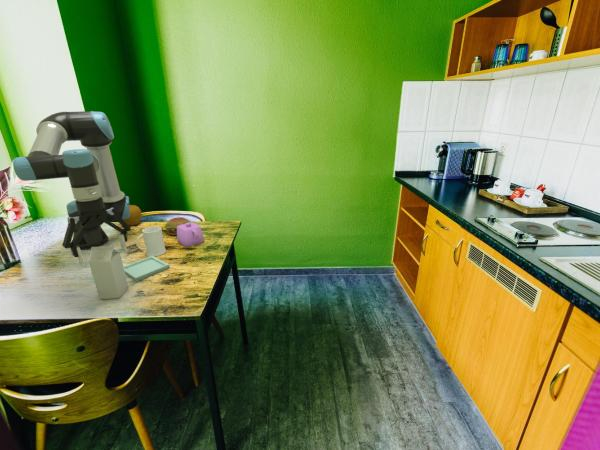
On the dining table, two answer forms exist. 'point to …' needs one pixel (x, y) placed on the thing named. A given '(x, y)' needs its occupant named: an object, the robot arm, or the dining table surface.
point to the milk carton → (108, 272)
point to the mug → (153, 241)
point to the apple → (133, 215)
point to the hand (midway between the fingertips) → (104, 257)
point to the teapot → (189, 234)
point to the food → (175, 225)
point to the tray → (145, 268)
